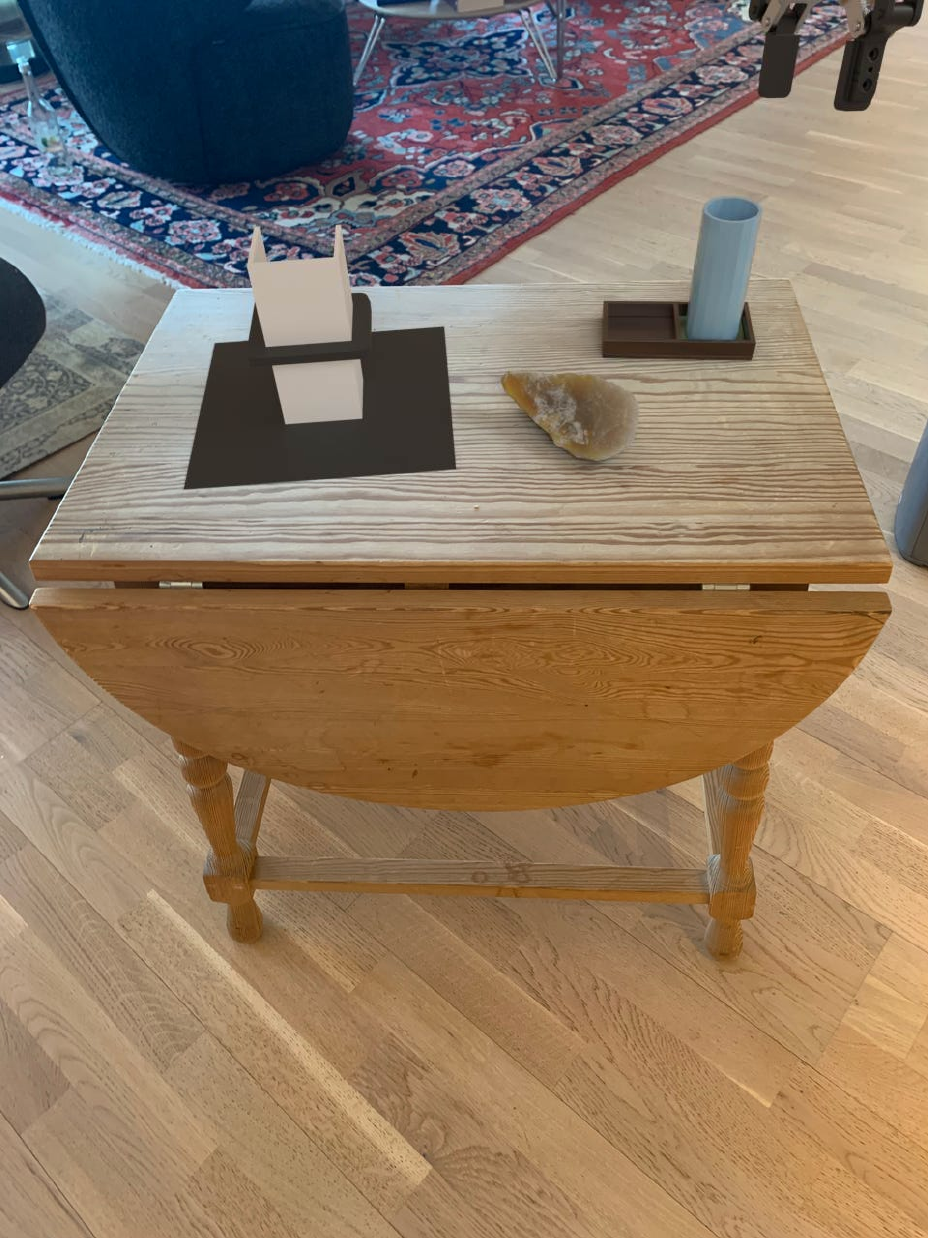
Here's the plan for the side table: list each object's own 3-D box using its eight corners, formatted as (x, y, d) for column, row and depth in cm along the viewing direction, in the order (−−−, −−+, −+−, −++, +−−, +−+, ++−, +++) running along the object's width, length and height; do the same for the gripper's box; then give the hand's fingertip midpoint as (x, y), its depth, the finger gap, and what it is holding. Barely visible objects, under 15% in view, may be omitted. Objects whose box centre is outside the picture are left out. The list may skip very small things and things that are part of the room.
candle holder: (444, 326, 101) (433, 172, 88) (456, 469, 85) (445, 305, 72) (214, 342, 100) (172, 191, 88) (183, 489, 84) (126, 328, 72)
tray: (602, 317, 100) (603, 300, 99) (744, 318, 99) (748, 301, 97) (602, 357, 95) (603, 340, 94) (752, 360, 94) (756, 342, 92)
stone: (634, 411, 78) (487, 352, 84) (615, 478, 82) (475, 417, 87) (667, 390, 83) (526, 335, 89) (647, 453, 87) (513, 397, 93)
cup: (732, 317, 98) (756, 194, 88) (742, 346, 95) (767, 221, 85) (681, 319, 98) (699, 197, 89) (688, 347, 95) (708, 223, 85)
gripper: (744, -210, 56) (704, 95, 65) (902, -259, 45) (827, 117, 54) (848, -202, 58) (795, 93, 67) (1025, -248, 47) (932, 113, 56)
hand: (809, 103), depth 61 cm, fingers open, 8 cm apart
